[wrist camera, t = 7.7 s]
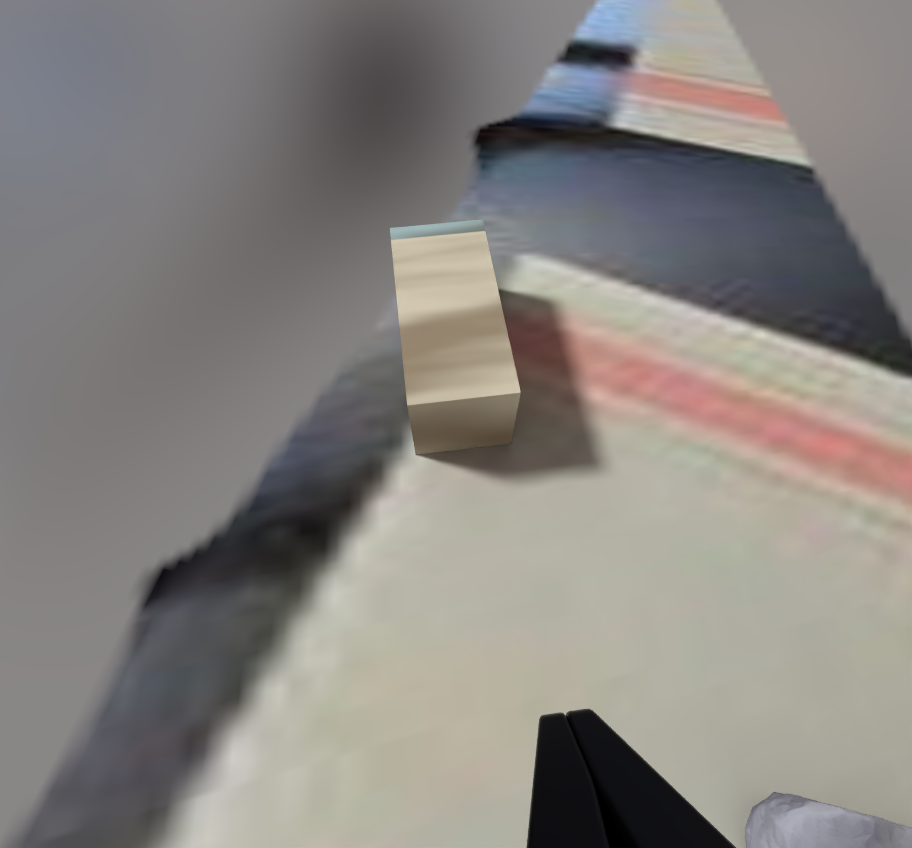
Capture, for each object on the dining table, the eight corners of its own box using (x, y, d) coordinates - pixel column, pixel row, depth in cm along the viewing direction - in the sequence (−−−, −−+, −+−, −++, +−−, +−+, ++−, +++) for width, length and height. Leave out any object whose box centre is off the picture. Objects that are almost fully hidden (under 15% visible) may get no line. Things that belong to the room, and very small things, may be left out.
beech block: (520, 392, 21) (482, 219, 26) (407, 405, 21) (389, 228, 26) (511, 443, 25) (479, 285, 30) (415, 454, 25) (399, 293, 30)
